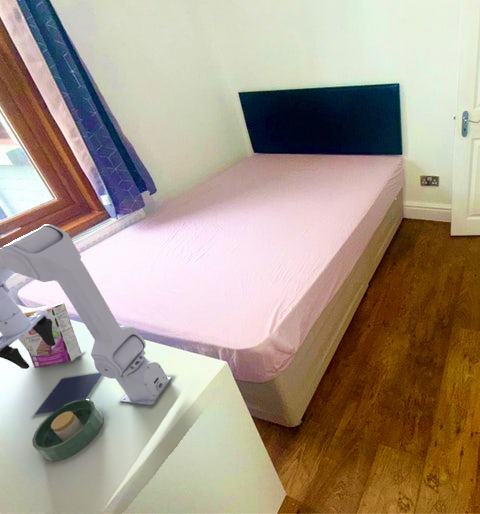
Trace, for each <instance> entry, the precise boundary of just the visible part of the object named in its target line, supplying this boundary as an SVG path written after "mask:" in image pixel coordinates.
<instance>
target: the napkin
mask: <svg viewBox="0 0 480 514" xmlns="http://www.w3.org/2000/svg"><path fill="white" fill-rule="evenodd" d="M102 376H103V375H102V374H100V373H99V372H96V373H90V374H83V375H77V376H71V377H65V378H64V377H63V378H61V379H60V380H59V382H58V383H57V384H56V386H55V387H54V388H53V389H52V391H51V392H50V393H49V394H48V396H47V397H46V398H45V400H44V401H43V402H42V403H41V405H40V407H39V408H38V409H37V410H36V412H34V415H40V414H41V415H42V414H48V413H53V412H54V411H55V410H57V409H58V408H60V407H62V406H63V405H65V404H67V403H70V402H72V401H75V400H79V399H88V397H89V395H90V394H91V392H92V390H93V389H94V388H95V386H96V384H97V383H98V382H99V380H100V379H101V377H102Z"/></svg>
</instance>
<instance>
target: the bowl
mask: <svg viewBox="0 0 480 514" xmlns="http://www.w3.org/2000/svg"><path fill="white" fill-rule="evenodd" d="M68 411H70V412H72V413H73V414H74V415H75V416H76V417H77V418H78V419H79V421H80V422H81V423H82V424H83V425H84V426H83V427H82V428H81V429H80V430H79V431H78V432H77V433H75V434H74V435H73V436H72V437H70V438H69V439H67V440H66V441H64V442H63V441H62V440H61V438H60V437H59V436H58V435H57V434H56V433H55V432H54V431H53V429H52V428H51V424H52V422H53V421H54V419H55V418H56V417H58V416H59V415H60V414H62V413H64V412H68ZM103 422H104V415H103V413H102V412H101V410H100V409H99V408H98V406H97V405H96V404H95V402H94V401H92V400H91V399H88V398H86V399H79V400H75V401H72V402H70V403H67V404H65V405H63V406H62V407H60V408H58V409H57V410H55V411H54V412H51V413H50V414H49V415H48V416H46V418H45V419H44V420H43V421H42V422H41V423H40V424H39V426H38V427H37V429H36V430H35V432H34V434H33V437H32V439H31V441H32V443H31V444H32V447H33V448H34V449H35V450H36V451H37V452H38V453H39V454H40V455H41V456H42V457H43V458H44V459H45V460H47V461H49V462H59V461H64V460H65V459H68V458H70V457H73V456H75V455H76V454H77V453H79V452H80V451H82V450H84V449H85V448H86V447H87V446H88V445H89V444H90V443H91V442H93V440H94V439H95V438H96V437H97V435H99V432H100V431H101V429H102V427H103V424H104V423H103Z"/></svg>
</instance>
